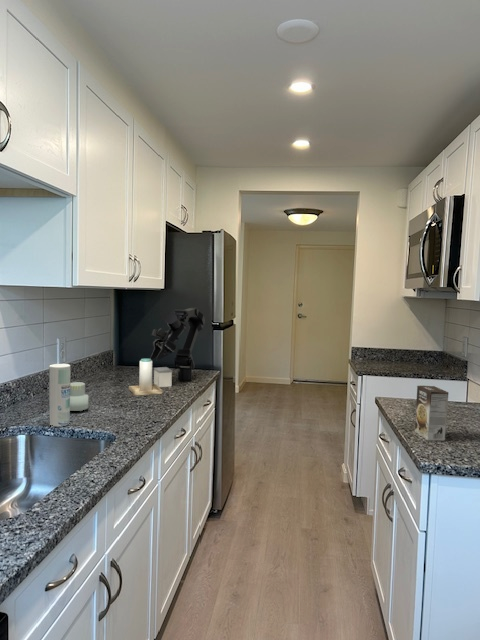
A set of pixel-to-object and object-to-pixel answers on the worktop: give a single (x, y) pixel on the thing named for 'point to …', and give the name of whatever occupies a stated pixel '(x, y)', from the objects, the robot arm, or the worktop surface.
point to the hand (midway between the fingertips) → (153, 359)
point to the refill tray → (136, 391)
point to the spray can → (59, 394)
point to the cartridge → (145, 375)
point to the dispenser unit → (162, 376)
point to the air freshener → (78, 397)
